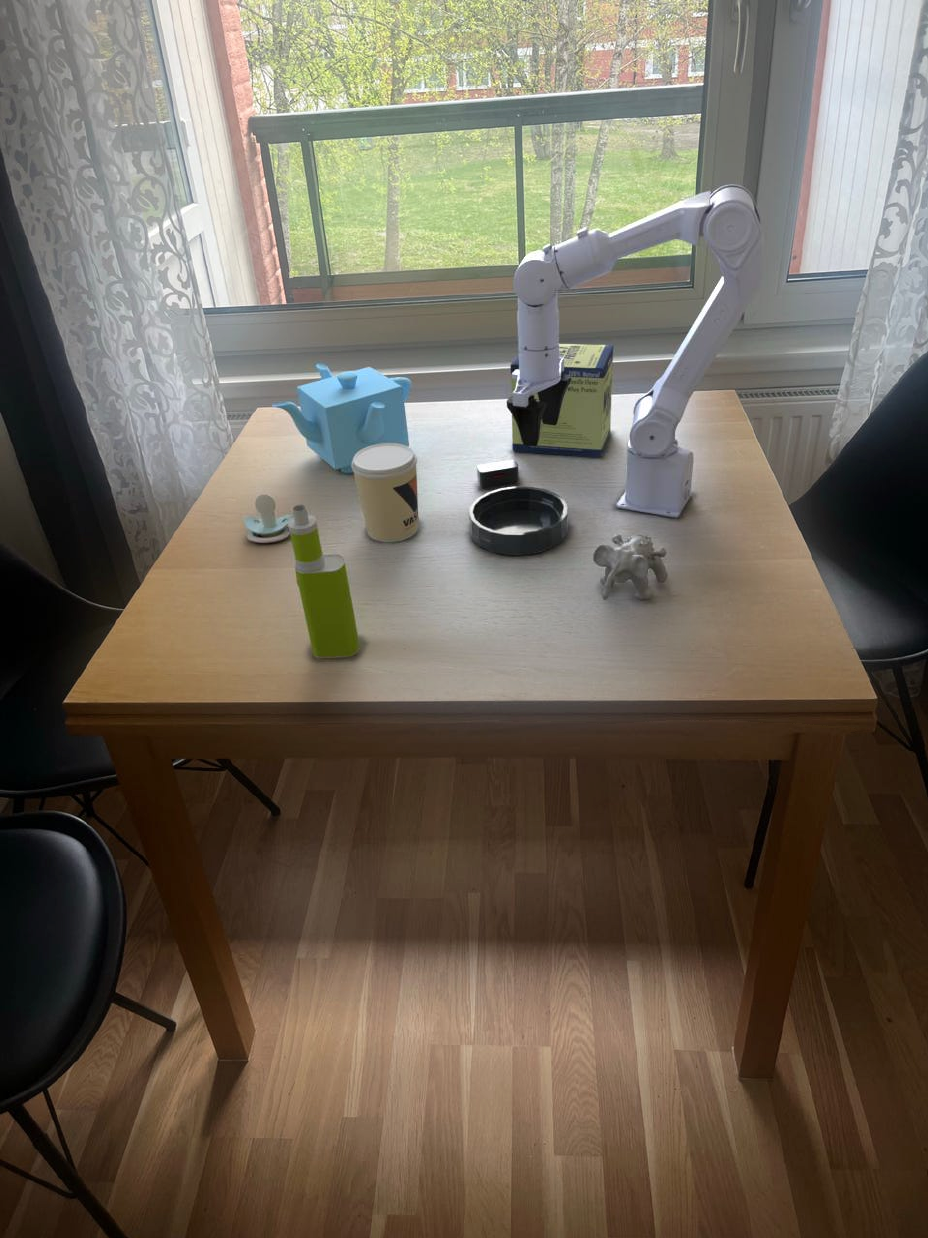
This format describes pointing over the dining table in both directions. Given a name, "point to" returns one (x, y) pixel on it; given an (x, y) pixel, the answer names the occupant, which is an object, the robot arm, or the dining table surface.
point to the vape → (322, 590)
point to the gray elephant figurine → (631, 564)
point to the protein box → (576, 405)
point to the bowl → (518, 520)
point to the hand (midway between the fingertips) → (540, 434)
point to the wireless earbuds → (498, 474)
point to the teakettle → (350, 413)
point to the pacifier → (267, 522)
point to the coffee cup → (387, 490)
